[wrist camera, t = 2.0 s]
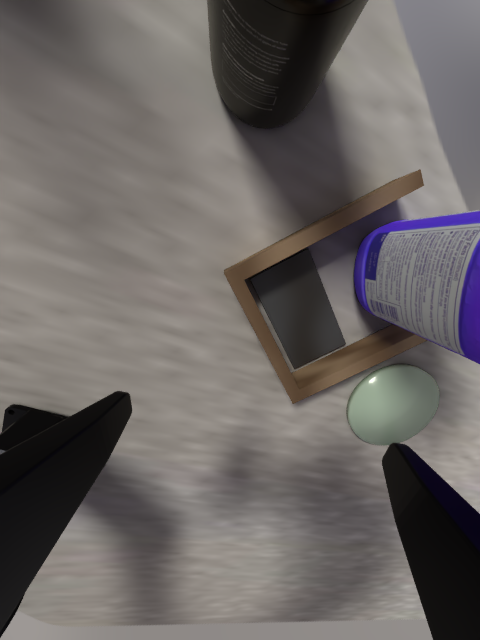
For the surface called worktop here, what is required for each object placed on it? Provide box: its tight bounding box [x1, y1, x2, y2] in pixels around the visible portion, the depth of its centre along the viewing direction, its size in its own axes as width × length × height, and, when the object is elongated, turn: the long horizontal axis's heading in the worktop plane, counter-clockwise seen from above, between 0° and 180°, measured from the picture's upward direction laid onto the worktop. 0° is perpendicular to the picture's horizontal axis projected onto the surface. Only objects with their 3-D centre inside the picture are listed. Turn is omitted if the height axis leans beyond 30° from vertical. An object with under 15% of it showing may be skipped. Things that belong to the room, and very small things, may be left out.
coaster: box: [347, 364, 440, 445], centre depth 23 cm, size 9×9×1 cm
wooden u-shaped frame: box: [224, 170, 427, 404], centre depth 18 cm, size 14×12×2 cm
